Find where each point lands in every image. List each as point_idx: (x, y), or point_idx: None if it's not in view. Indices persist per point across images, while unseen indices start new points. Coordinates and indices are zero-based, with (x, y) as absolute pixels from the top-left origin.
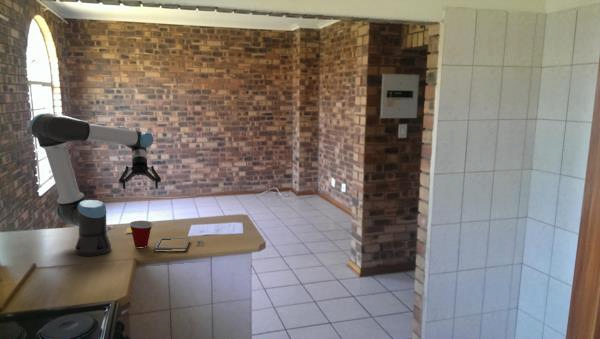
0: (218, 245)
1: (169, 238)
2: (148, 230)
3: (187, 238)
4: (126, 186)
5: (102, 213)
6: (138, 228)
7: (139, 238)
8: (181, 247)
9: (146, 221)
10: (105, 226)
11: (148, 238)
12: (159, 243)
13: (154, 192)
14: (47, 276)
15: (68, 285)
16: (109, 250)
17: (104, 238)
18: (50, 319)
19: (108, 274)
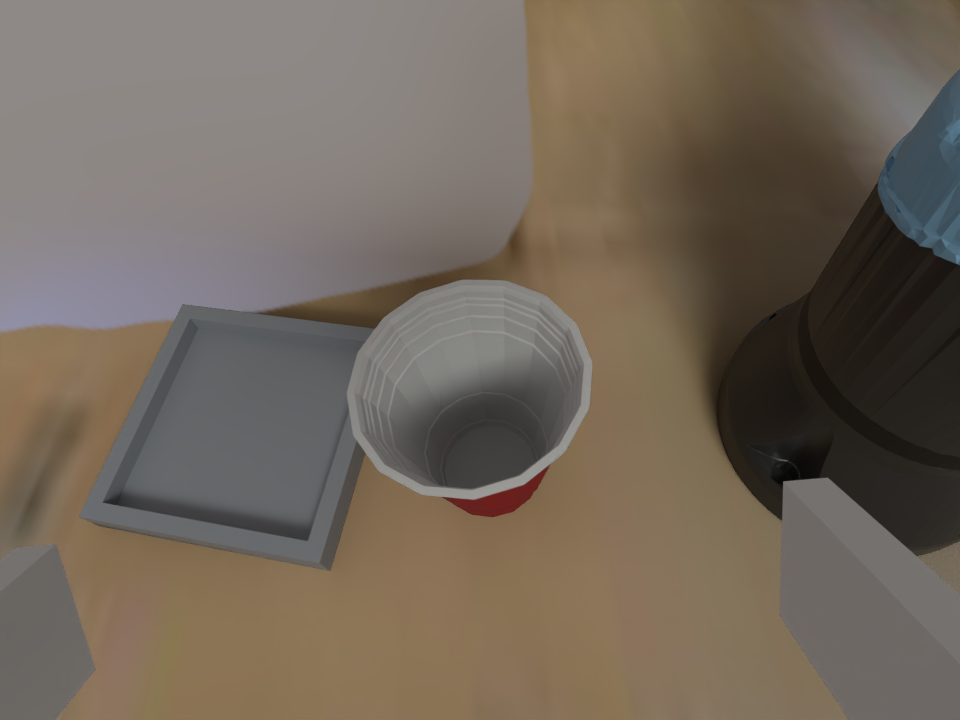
0: None
1: (244, 532)
2: (406, 352)
3: (99, 510)
4: (937, 620)
5: (909, 135)
6: (492, 294)
7: (493, 370)
8: (206, 316)
9: (412, 478)
10: (824, 290)
11: (421, 419)
12: (344, 433)
13: (61, 582)
14: (930, 95)
15: (773, 20)
16: (720, 390)
17: (784, 322)
18: None
19: (627, 92)
